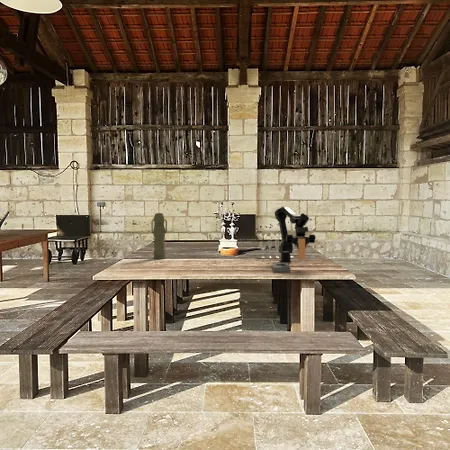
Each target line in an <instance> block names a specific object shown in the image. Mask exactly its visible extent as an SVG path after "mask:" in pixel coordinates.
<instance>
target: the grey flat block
mask: <svg viewBox="0 0 450 450" xmlns="http://www.w3.org/2000/svg"><path fill="white" fill-rule="evenodd" d="M271 264H272V266H271V267H272V270H273V273H291V266H290V265H289V263H288V262H281V261H279V262H272V263H271Z"/></svg>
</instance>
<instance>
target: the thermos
mask: <svg viewBox="0 0 450 450" xmlns="http://www.w3.org/2000/svg"><path fill="white" fill-rule="evenodd" d="M153 221H154V223H153ZM150 223H151V233H152V234H153V239H154V240H153V241H154V243H153V244H154V250H153V259H154V260H165V259H166V249H165V248H166V246H165V244H166V243H165V242H166V241H165V237H166V234H167V232H168V221H167V219H165V216H164V213H162V212H161V213H160V212H158V213H157V212H156V213H155V214H154V217H153V219H151V221H150Z"/></svg>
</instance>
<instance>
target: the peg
mask: <svg viewBox="0 0 450 450" xmlns="http://www.w3.org/2000/svg"><path fill="white" fill-rule="evenodd" d="M297 241H298V246H299V249H297V259H298V260H305V259H306V249H305V239H304V238H298V240H297Z"/></svg>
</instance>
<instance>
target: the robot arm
mask: <svg viewBox="0 0 450 450" xmlns="http://www.w3.org/2000/svg"><path fill="white" fill-rule="evenodd" d="M274 216H275V220H276V221H277V222H278V225H279V230H280V237H281V241H282V242H281V241H280V245H279V247H278V253H279V254H280V260H279V262H283V263H288V262H292V260H291V253H292V254H293V250H294V248H293V245H292V244H294V247H296V249H297V250H298V249H299V246H298V238H304V239H305V250H306V248H307V246H308V244H315V242H316V239H317V238H316V234H309V235H308V236H306V233H308V232H309V227H308V226H306V225H307V223H308V221H309V220H310V218H309V215H307V214H305V212H304V213H303V212H301V213H300V214H298V213H295V212H294V211H293V210H292V209H291V208H290V207H289V206H284V205H283V206H281V207H280V208H278V209H276V210H275V211H274ZM287 217H288V218H289V221H290V223H291V224H293V225H294V230H295V235H293V234H288V229H287V223H286V220H287Z"/></svg>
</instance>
